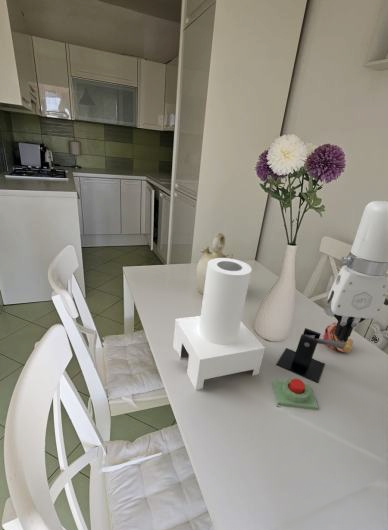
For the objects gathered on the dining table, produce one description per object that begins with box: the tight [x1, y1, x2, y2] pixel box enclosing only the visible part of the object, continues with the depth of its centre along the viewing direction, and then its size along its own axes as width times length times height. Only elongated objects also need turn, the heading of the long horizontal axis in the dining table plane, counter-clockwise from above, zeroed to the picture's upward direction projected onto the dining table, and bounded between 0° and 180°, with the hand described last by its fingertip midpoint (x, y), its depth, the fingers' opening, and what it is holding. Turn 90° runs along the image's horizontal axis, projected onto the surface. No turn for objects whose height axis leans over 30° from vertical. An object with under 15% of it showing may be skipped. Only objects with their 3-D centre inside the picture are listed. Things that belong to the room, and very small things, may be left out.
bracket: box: [276, 327, 326, 384], centre depth 88 cm, size 12×10×12 cm
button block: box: [271, 378, 319, 411], centre depth 78 cm, size 10×8×4 cm
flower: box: [322, 322, 346, 353], centre depth 100 cm, size 10×9×8 cm
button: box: [289, 378, 306, 394], centre depth 77 cm, size 4×4×2 cm
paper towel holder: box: [172, 258, 266, 391], centre depth 82 cm, size 19×19×30 cm
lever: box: [305, 334, 354, 353], centre depth 83 cm, size 12×5×2 cm, turn 58°
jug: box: [196, 232, 234, 295], centre depth 124 cm, size 15×16×25 cm
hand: (340, 337), depth 71 cm, fingers closed
